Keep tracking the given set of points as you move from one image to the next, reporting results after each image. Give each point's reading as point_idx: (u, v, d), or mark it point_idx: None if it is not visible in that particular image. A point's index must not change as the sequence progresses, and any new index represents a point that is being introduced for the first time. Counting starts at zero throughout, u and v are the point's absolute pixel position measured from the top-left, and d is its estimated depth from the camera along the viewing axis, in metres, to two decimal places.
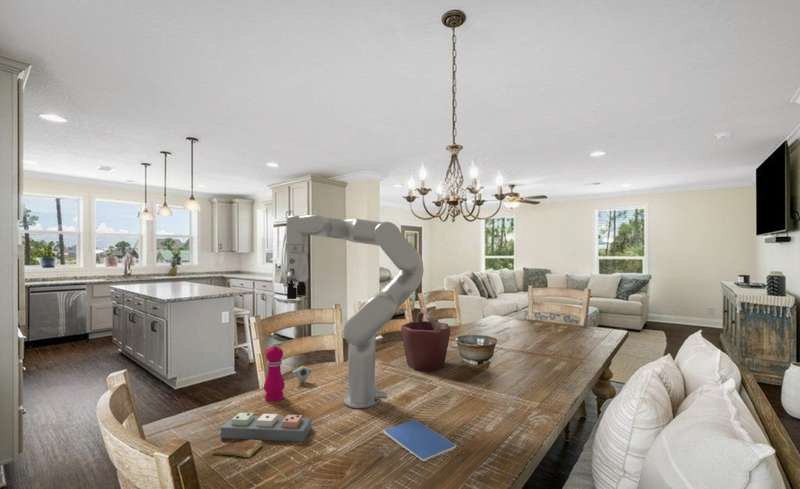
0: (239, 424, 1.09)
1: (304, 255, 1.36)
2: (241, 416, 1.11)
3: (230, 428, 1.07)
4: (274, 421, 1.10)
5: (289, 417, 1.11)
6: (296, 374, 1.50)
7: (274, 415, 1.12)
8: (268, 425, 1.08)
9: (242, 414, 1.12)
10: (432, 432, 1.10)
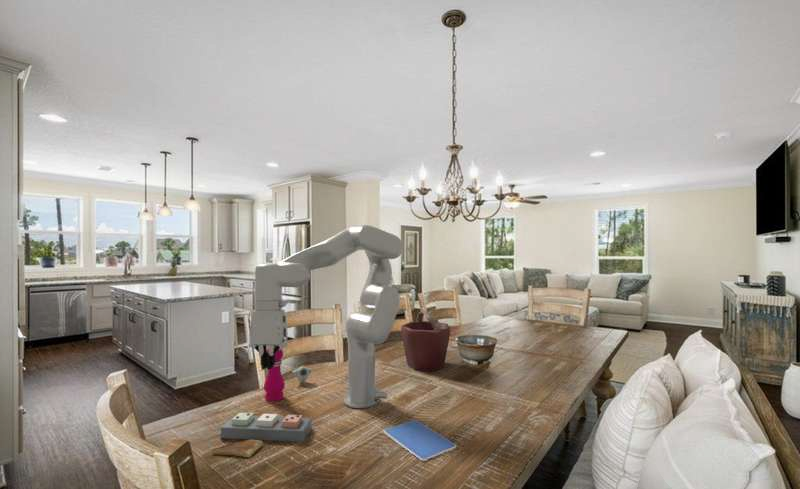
0: (239, 424, 1.09)
1: None
2: (241, 416, 1.11)
3: (230, 428, 1.07)
4: (274, 421, 1.10)
5: (289, 417, 1.11)
6: (296, 374, 1.50)
7: (274, 415, 1.12)
8: (268, 425, 1.08)
9: (242, 414, 1.12)
10: (432, 432, 1.10)
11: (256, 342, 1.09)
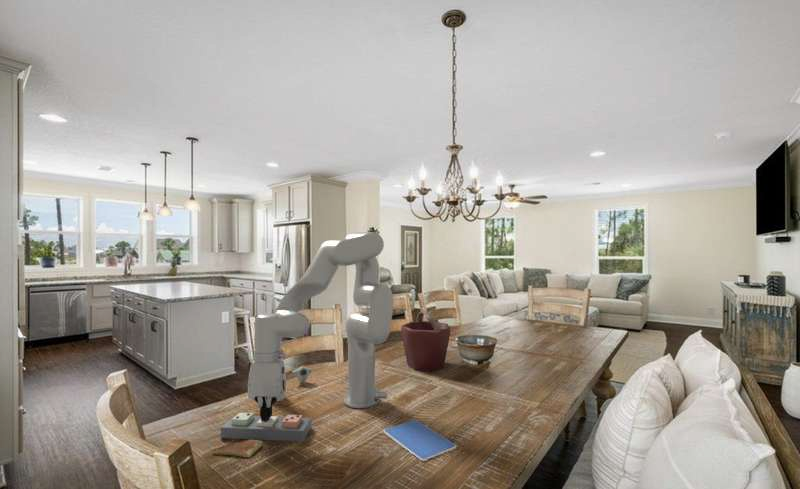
0: (239, 424, 1.09)
1: None
2: (241, 416, 1.11)
3: (230, 428, 1.07)
4: (274, 423, 1.10)
5: (289, 417, 1.11)
6: (296, 374, 1.50)
7: (274, 417, 1.12)
8: None
9: (242, 414, 1.12)
10: (432, 432, 1.10)
11: (254, 394, 1.09)
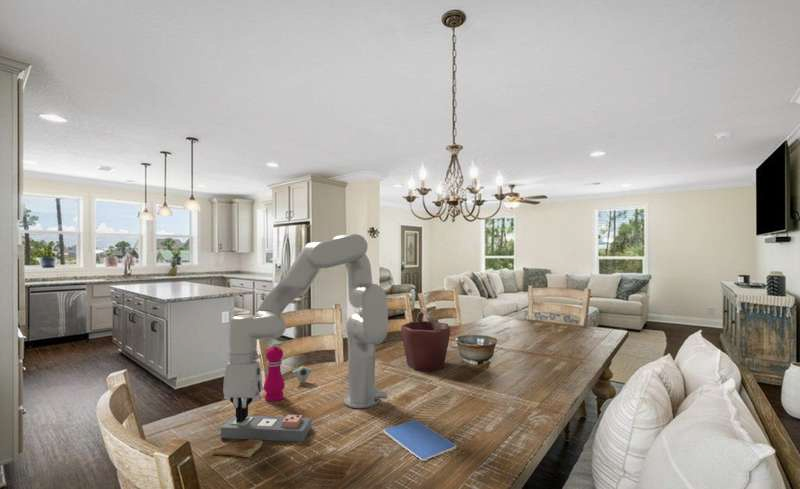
0: None
1: None
2: None
3: (230, 428, 1.07)
4: None
5: (289, 417, 1.11)
6: (296, 374, 1.50)
7: (274, 420, 1.12)
8: None
9: None
10: (432, 432, 1.10)
11: (230, 395, 1.09)
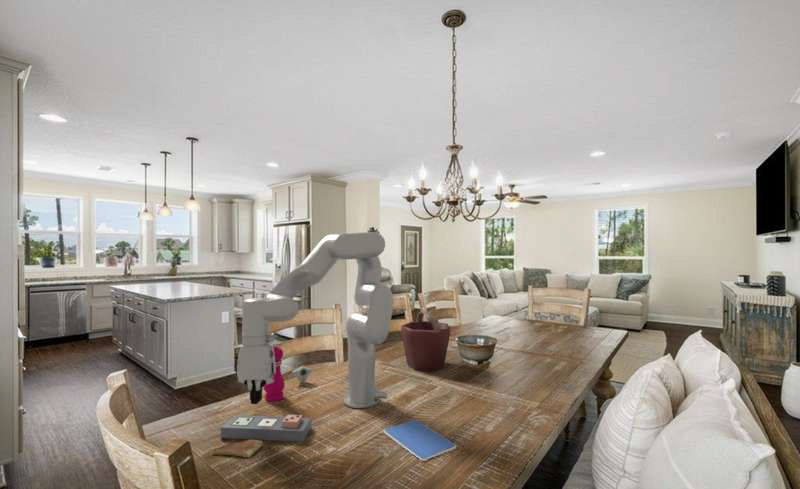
0: None
1: None
2: (241, 421, 1.11)
3: (230, 428, 1.07)
4: None
5: (289, 417, 1.11)
6: (296, 374, 1.50)
7: (274, 420, 1.12)
8: None
9: (242, 419, 1.12)
10: (432, 432, 1.10)
11: (244, 377, 1.09)
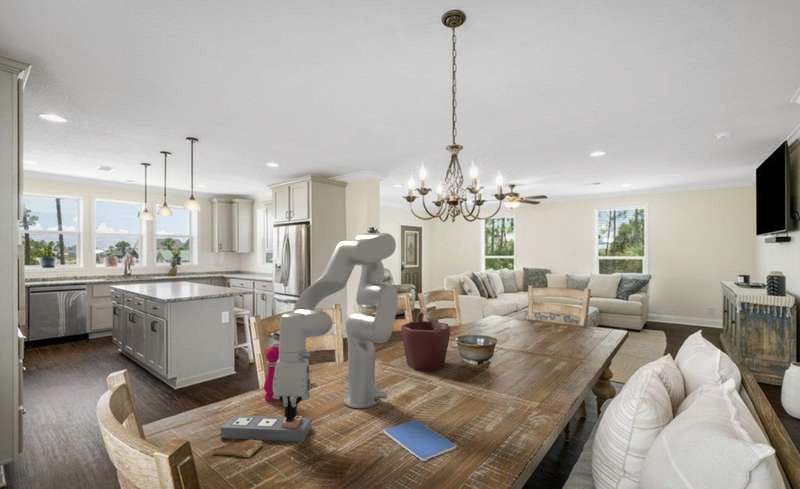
0: None
1: None
2: (241, 421, 1.11)
3: (230, 428, 1.07)
4: None
5: None
6: None
7: (274, 420, 1.12)
8: None
9: (242, 419, 1.12)
10: (432, 432, 1.10)
11: (280, 393, 1.08)
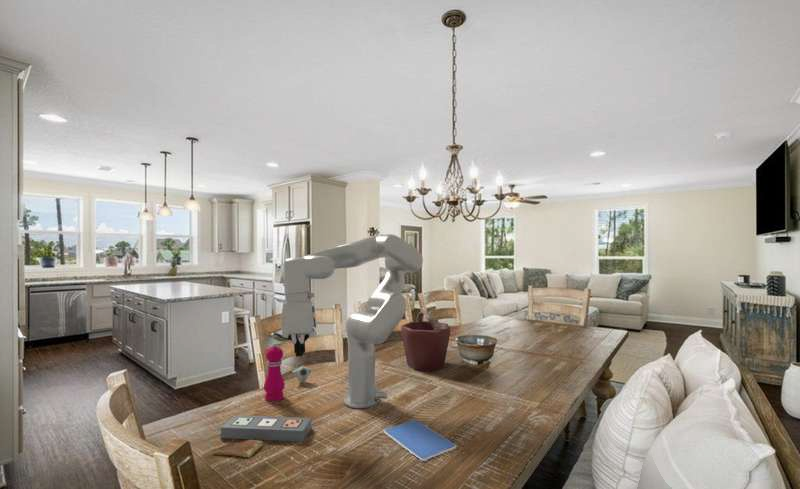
0: None
1: None
2: (241, 421, 1.11)
3: (230, 428, 1.07)
4: None
5: (289, 422, 1.11)
6: (296, 374, 1.50)
7: (274, 420, 1.12)
8: None
9: (242, 419, 1.12)
10: (432, 432, 1.10)
11: (288, 332, 1.16)
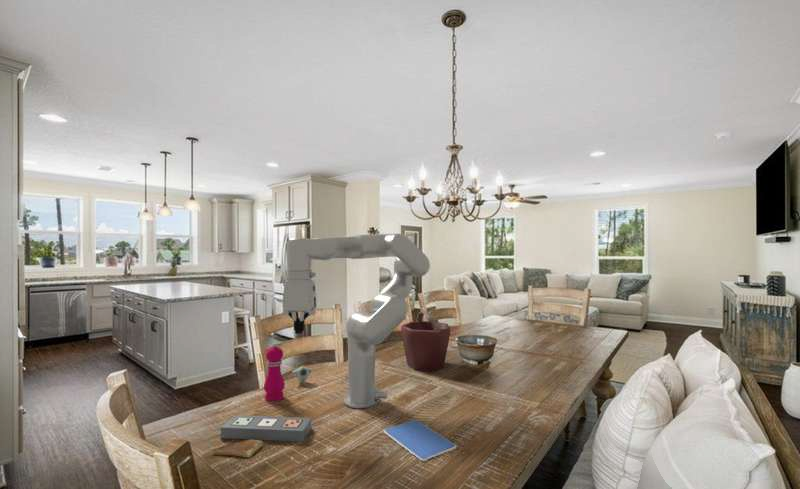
0: None
1: None
2: (241, 421, 1.11)
3: (230, 428, 1.07)
4: None
5: (289, 422, 1.11)
6: (296, 374, 1.50)
7: (274, 420, 1.12)
8: None
9: (242, 419, 1.12)
10: (432, 432, 1.10)
11: (289, 309, 1.20)
